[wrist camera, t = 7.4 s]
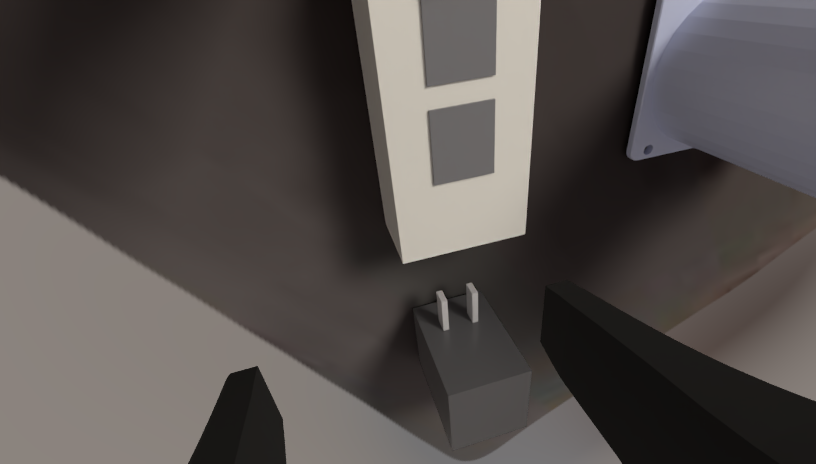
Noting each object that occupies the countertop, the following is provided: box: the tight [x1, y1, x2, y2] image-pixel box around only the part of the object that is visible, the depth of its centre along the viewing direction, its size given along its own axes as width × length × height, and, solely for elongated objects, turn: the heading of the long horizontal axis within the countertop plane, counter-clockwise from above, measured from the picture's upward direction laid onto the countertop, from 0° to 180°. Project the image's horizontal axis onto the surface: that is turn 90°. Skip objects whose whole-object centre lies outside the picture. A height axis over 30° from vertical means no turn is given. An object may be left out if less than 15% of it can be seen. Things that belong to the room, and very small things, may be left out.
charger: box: [413, 283, 532, 451], centre depth 21 cm, size 4×6×6 cm, turn 7°
